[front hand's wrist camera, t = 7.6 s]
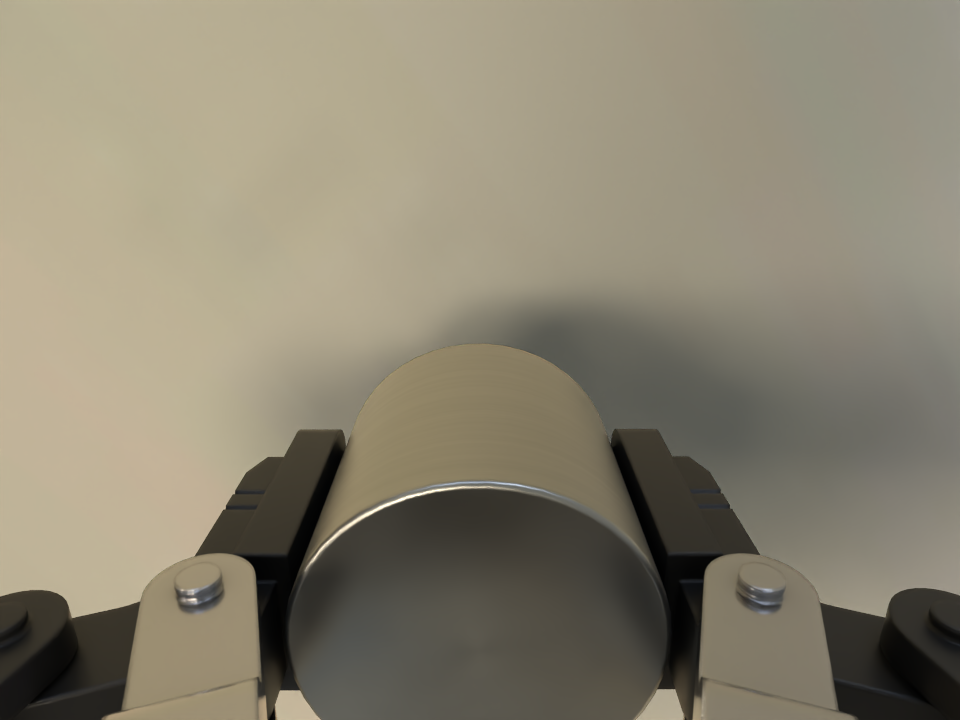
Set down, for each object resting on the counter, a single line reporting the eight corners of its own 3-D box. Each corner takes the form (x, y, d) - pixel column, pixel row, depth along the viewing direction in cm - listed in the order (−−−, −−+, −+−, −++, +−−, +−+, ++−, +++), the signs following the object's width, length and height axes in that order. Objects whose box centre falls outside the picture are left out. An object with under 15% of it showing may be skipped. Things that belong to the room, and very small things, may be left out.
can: (369, 575, 13) (318, 796, 9) (330, 352, 12) (246, 498, 7) (609, 559, 13) (669, 775, 9) (605, 331, 12) (679, 467, 7)
